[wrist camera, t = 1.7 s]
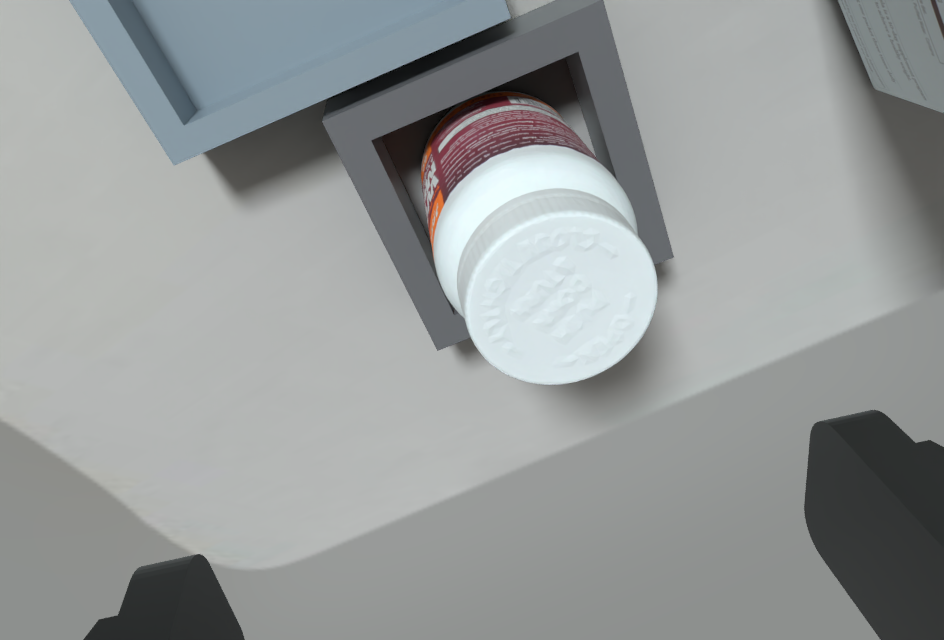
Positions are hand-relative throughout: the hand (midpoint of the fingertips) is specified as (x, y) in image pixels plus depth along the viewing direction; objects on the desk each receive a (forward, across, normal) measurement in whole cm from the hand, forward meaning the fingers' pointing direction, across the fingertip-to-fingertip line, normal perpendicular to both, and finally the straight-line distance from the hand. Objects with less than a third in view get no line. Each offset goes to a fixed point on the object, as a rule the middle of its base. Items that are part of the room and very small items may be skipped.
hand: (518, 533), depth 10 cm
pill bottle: (+21, -3, +2) cm, 21 cm away
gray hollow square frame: (+21, -3, +2) cm, 21 cm away
